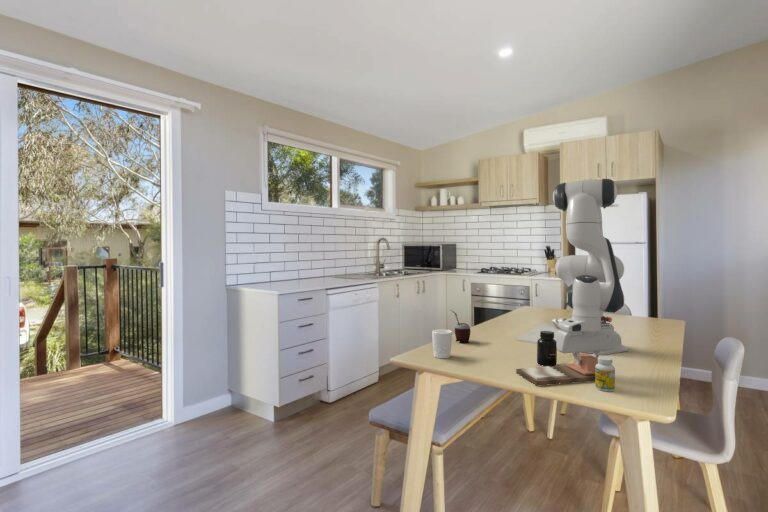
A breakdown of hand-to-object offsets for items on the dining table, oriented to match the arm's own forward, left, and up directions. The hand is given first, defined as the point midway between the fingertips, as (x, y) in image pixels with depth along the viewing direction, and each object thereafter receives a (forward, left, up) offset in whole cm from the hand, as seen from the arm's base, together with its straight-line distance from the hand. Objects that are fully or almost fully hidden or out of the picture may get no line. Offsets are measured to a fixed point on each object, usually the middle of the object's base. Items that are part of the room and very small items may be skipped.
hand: (586, 364), depth 144 cm
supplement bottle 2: (+3, +13, -4) cm, 14 cm away
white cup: (+40, -33, -4) cm, 52 cm away
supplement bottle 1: (+6, -13, -4) cm, 15 cm away
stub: (0, 0, -2) cm, 2 cm away
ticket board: (+8, 0, -3) cm, 9 cm away
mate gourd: (+24, -52, -4) cm, 58 cm away
